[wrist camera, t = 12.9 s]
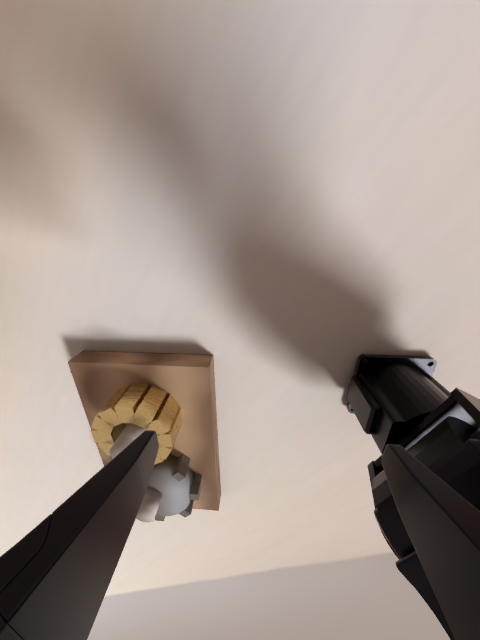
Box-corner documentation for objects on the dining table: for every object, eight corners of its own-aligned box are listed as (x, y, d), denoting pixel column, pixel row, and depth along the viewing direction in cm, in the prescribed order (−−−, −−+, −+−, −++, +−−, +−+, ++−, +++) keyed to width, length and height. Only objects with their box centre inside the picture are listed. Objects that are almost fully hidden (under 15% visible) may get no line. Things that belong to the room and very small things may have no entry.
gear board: (213, 355, 22) (196, 405, 16) (220, 492, 30) (211, 560, 24) (83, 350, 22) (20, 396, 16) (125, 485, 31) (93, 549, 25)
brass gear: (178, 385, 21) (165, 409, 18) (185, 439, 23) (176, 468, 21) (104, 382, 21) (82, 405, 18) (120, 436, 24) (102, 463, 21)
